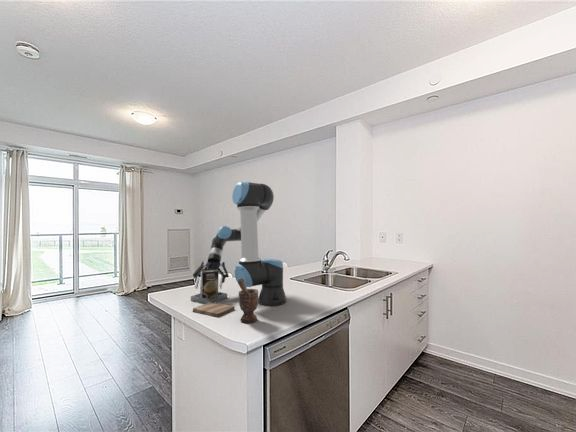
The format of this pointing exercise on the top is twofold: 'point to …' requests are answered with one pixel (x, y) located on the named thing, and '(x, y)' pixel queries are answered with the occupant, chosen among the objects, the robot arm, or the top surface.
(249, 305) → the mortar and pestle
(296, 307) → the top surface
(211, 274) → the coffee box
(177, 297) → the top surface
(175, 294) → the top surface
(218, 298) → the holder ring
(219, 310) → the walnut board
